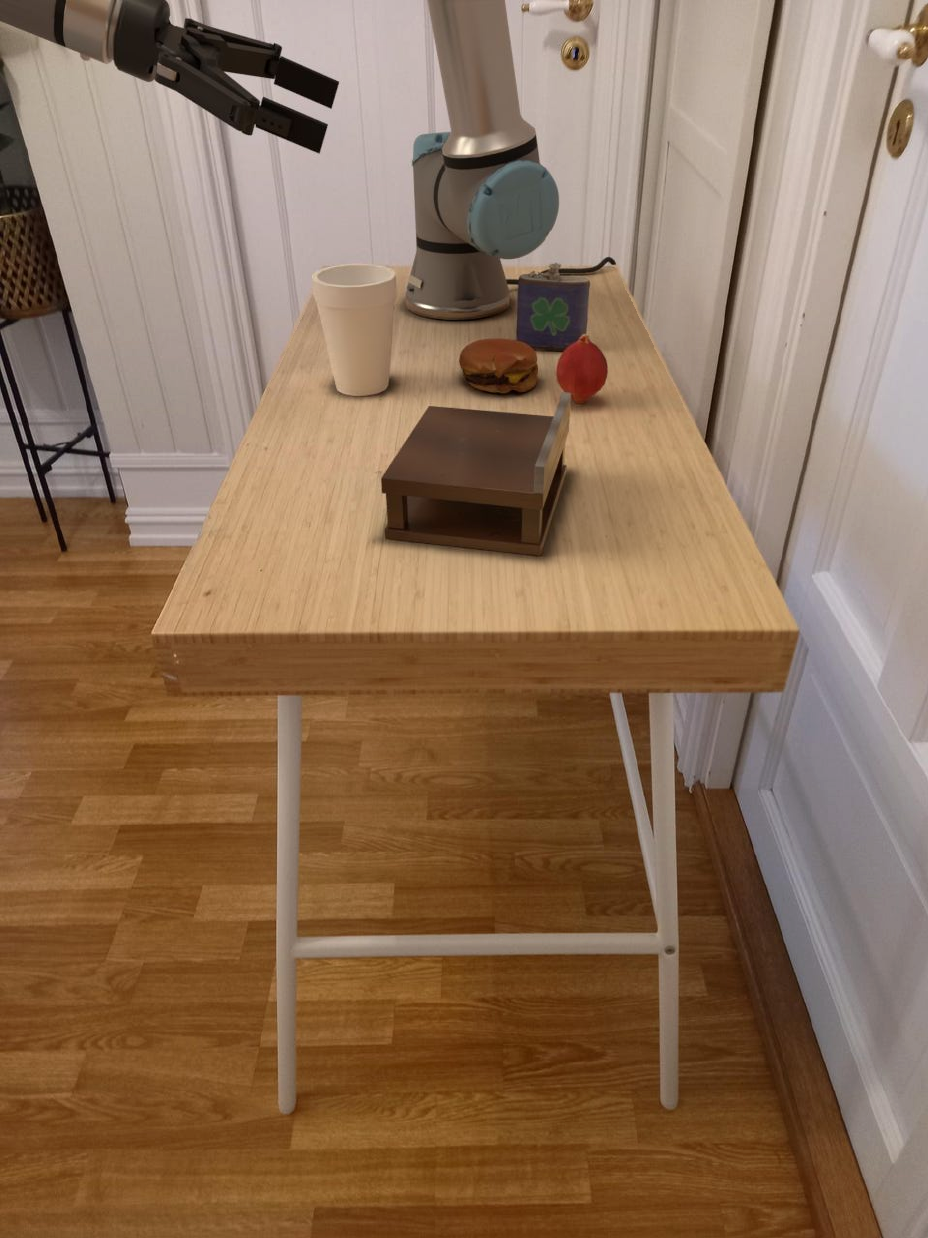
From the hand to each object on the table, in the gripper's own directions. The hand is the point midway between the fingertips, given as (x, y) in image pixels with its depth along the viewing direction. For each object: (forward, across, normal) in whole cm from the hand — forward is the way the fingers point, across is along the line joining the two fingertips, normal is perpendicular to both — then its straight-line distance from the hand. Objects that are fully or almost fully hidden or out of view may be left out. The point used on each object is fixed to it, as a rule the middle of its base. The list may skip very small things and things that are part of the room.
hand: (330, 116), depth 97 cm
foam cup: (+12, +7, -25) cm, 29 cm away
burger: (+28, +6, -19) cm, 34 cm away
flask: (+35, -6, -18) cm, 40 cm away
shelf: (+23, +36, -15) cm, 45 cm away
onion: (+35, +12, -14) cm, 40 cm away
